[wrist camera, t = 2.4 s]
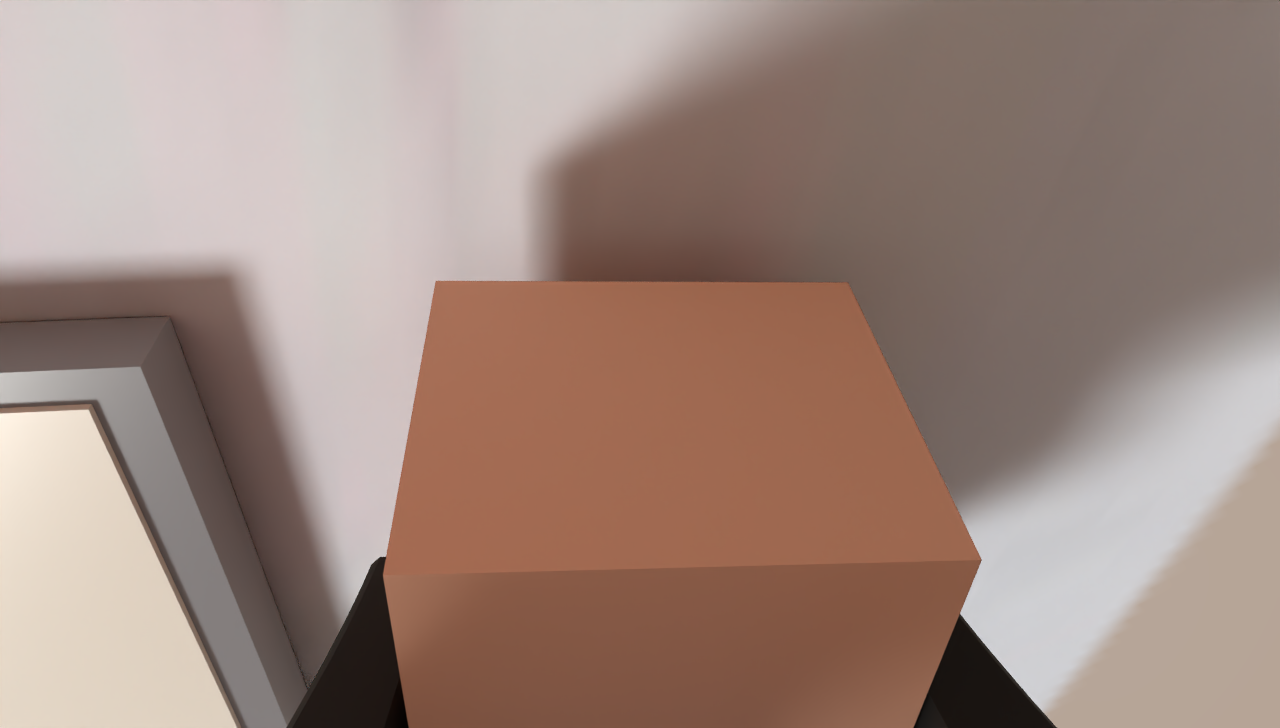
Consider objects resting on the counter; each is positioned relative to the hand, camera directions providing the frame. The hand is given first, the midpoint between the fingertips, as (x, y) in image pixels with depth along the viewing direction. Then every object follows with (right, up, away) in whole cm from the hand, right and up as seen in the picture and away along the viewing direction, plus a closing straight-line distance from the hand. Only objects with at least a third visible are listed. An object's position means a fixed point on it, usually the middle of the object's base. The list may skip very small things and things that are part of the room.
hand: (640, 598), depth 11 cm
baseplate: (-9, 0, +3) cm, 10 cm away
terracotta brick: (0, +1, +1) cm, 2 cm away
